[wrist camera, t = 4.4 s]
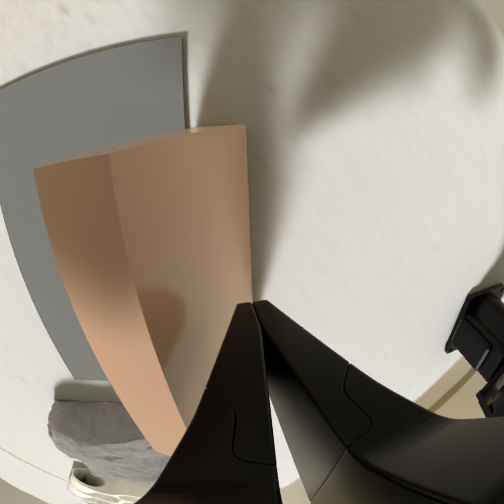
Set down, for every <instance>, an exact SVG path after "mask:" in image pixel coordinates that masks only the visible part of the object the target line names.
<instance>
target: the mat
mask: <svg viewBox="0 0 504 504" xmlns="http://www.w3.org/2000/svg"><path fill="white" fill-rule="evenodd" d="M183 129H186V128H185V112H184V91H183V63H182V36H181V37H173V38H165V39H158V40H152V41H146V42H140V43H135V44H130V45H125V46H121V47H116V48H112V49H108V50H104V51H100V52H97V53H93V54H89V55H86V56H83V57H79V58H76V59H73V60H70V61H67V62H64V63H61V64H59V65H56V66H53V67H50V68H48V69H45V70H43V71H40V72H38V73H35V74H33V75H31V76H28V77H26V78H24V79H22V80H20V81H17V82H15V83H13V84H11V85H9V86H7V87H5V88H3V89H1V90H0V205H1V209H2V213H3V217H4V221H5V225H6V228H7V232H8V235H9V239H10V242H11V245H12V248H13V251H14V254H15V257H16V260H17V263H18V266H19V268H20V271H21V274H22V276H23V279H24V281H25V284H26V286H27V289H28V291H29V294H30V296H31V298H32V301H33V303H34V305H35V307H36V309H37V312H38V314H39V316H40V318H41V320H42V322H43V324H44V326H45V328H46V330H47V332H48V334H49V336H50V338H51V340H52V341H53V343H54V345H55V347H56V349H57V350H58V352H59V354H60V356H61V357H62V359H63V361H64V363H65V364H66V366H67V368H68V369H69V371H70V372H71V374H72V376H73V377H74V379H78V380H104V381H109V380H108V378H107V377H106V375H105V373H104V371H103V369H102V368H101V366H100V364H99V362H98V360H97V358H96V356H95V354H94V352H93V350H92V348H91V346H90V344H89V342H88V340H87V338H86V336H85V334H84V332H83V329H82V327H81V325H80V323H79V320H78V318H77V316H76V313H75V311H74V309H73V306H72V304H71V301H70V299H69V296H68V294H67V291H66V289H65V286H64V283H63V280H62V278H61V275H60V272H59V269H58V266H57V263H56V260H55V257H54V254H53V251H52V247H51V244H50V240H49V237H48V233H47V230H46V226H45V222H44V218H43V214H42V210H41V205H40V201H39V196H38V191H37V186H36V181H35V175H34V168H36V167H39V166H42V165H45V164H48V163H50V162H53V161H56V160H59V159H62V158H65V157H69V156H72V155H75V154H78V153H82V152H85V151H89V150H92V149H96V148H99V147H103V146H107V145H111V144H115V143H119V142H123V141H127V140H131V139H136V138H140V137H145V136H150V135H155V134H160V133H165V132H171V131H177V130H183Z"/></svg>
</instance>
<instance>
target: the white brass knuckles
mask: <svg viewBox="0 0 504 504" xmlns="http://www.w3.org/2000/svg"><path fill="white" fill-rule="evenodd" d="M84 476H87V478H85V477H84ZM83 478H85V479H87V480H86V482H85V483H82V482H81V480H82V479H83ZM154 483H155V482H153V483H149V484H147V483H129V482H125V481H122V480H117V479H111V478H108V477H102V476H101V477H96V476H93V475H92V474H91V472H90V471H89V469H86V468H75V469H73V470H72V474H71V476H70V480H69V482H68V488H67V489H68V490H69V491H70V492H71V493H72V494H73V495H74V496H76V497H78V498H80V499H83V500H85V501H88V502H91V503H95V504H134V503H135V502H137V501H138V500H139V499H140V498H142V497H143V496H144V495H145V494H146V493H147V492H148V491H149V489H150V488H151V487H152V486H153V484H154Z"/></svg>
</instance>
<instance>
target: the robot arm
mask: <svg viewBox="0 0 504 504" xmlns="http://www.w3.org/2000/svg"><path fill="white" fill-rule="evenodd" d="M503 292H504V285H503V284H499V285H496V286H494V287H491V288H488V289H486V290H483V291H480V292H477V293H474V294H472V295H470V296H469V297H468V298H467V300H466V302H465V305H464V307H463V310H462V312H461V314H460V317H459V319H458V321H457V324H456V326H455V328H454V330H453V333H452V335H451V337H450V339H449V341H448V343H447V345H446V347H445V352H446V353H447V354H448V353H450V352H453V351H455V350H457V349H458V351H459V352H460V353H461V354H462V355H463V356H464V358H465V359H466V360H467V361H468V362H469V364H470V365H471V366H472V367H473V369H474V370H478V372H479V373H480V374H481V375H482V377H483V378H484V379H485V380H486V382H488V381H489V382H488V383H487V384H486V385H485V386H484V387H483V388H482V390H480V391H479V392H478V393H477V394H476V397H477V399H478V400H479V404H480V406H481V408H482V410H483V412H484V414H485V417H486V418H478V419H451V418H446V417H443V416H440V415H437V414H435V413H433V412H431V411H429V410H427V409H425V408H423V407H421V406H419V405H417V404H416V403H414V402H412V401H410V400H408V399H406V398H405V397H403V396H401V395H399V394H397V393H395V392H394V391H392V390H390V389H388V388H387V387H385V386H383V385H382V384H380V383H378V382H377V381H375V380H374V379H372V378H371V377H369V376H368V375H366V374H365V373H363V372H362V371H361V370H359V369H358V368H356V367H355V366H354V365H352V364H349V362H348V361H347V360H345V359H344V358H343V357H341V356H340V355H339V354H337V353H336V352H335V351H333V350H332V349H331V348H329V347H328V346H327V345H325V344H324V343H323V342H321V341H320V340H319V339H317V338H316V337H315V336H313V335H312V334H311V333H309V332H308V331H307V330H305V329H304V328H303V327H301V326H300V325H299V324H297V323H296V322H295V321H294V320H292V319H291V318H290V317H288V316H287V315H286V314H284V313H283V312H282V311H281V310H279V309H278V308H277V307H275V306H274V305H273V304H271V303H270V302H269V301H267V300H261V301H254V302H253V303H251V302H245V303H238V304H237V305H236V308H235V311H234V313H233V316H232V319H231V321H230V324H229V326H228V329H227V332H226V334H225V337H224V340H223V342H222V345H221V348H220V350H219V353H218V356H217V358H216V361H215V363H214V366H213V369H212V371H211V374H210V377H209V379H208V382H207V385H206V389H205V390H204V392H203V395H202V397H201V400H200V402H199V405H198V407H197V409H196V412H195V414H194V416H193V418H192V420H191V422H190V424H189V426H188V428H187V430H186V432H185V433H184V435H183V437H182V439H181V440H180V442H179V444H178V446H177V447H176V449H175V451H174V452H173V454H172V456H171V457H170V459H169V461H168V462H167V464H166V466H165V467H164V469H163V471H162V472H161V474H160V476H159V477H158V479H157V480H156V482H155V483H154V484H153V486H152V487H151V488H150V489H149V491H148V492H147V493H146V494H145V495H144V496H143V497H142V498H140V499H139V500H138V501H137V502H135V503H134V504H282V499H281V494H280V488H279V481H278V473H277V467H276V465H277V464H276V455H275V445H274V436H273V427H272V418H271V408H270V399H269V395H270V398H271V401H272V404H273V406H274V409H275V412H276V415H277V417H278V420H279V423H280V426H281V428H282V431H283V434H284V436H285V439H286V442H287V444H288V447H289V449H290V452H291V455H292V457H293V460H294V462H295V465H296V468H297V470H298V473H299V475H300V478H301V480H302V483H303V485H304V488H305V490H306V493H307V495H308V498H309V500H310V501H311V504H504V303H503V302H502V301H501V300H500V299H501V297H502V294H503ZM502 385H503V386H502Z"/></svg>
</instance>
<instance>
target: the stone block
mask: <svg viewBox="0 0 504 504" xmlns="http://www.w3.org/2000/svg"><path fill="white" fill-rule="evenodd" d="M48 422H49V423H48V424H47V425H48V429H49V431H48V432H49V437H50V438H51V440H52V441H53V442H54V444H55V446H56V447H57V448H58V449H59V450H60V451H62V452H63V453H65V454H67V455H68V456H69V457H70V458H75V459H78V460H81V461H82V462H83V464H84V465H86V466H87V467H88V469H89V471H90V472H91V474H92V475H93V476H96V477H101V476H102V477H108V478H111V479H117V480H122V481H125V482H129V483H147V484H149V483H153V482H156V480H157V479H158V477H159V476H160V474H161V472H162V471H163V469H164V467H165V466H166V464H167V462H168V461H169V459H170V457H171V456H168V455H165V454H162V453H159V452H156V451H155V450H154V449H153V447H152V446H151V445H150V443H149V442H148V441H147V439H146V438H145V436H144V435H143V434H142V432H141V431H140V429H139V428H138V426H137V425H136V424H135V422H134V421H133V419H132V418H131V416H130V415H129V413H128V412H127V410H126V408H125V407H124V405H123V404H121V403H116V402H109V401H106V402H90V403H85V402H78V401H69V402H66V401H59V400H56V401H55V402H54V404H53V405H52V409H51V411H50V413H49V417H48Z"/></svg>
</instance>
